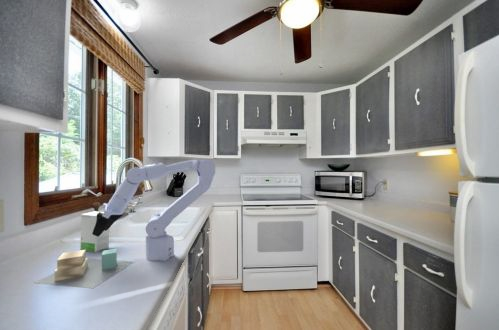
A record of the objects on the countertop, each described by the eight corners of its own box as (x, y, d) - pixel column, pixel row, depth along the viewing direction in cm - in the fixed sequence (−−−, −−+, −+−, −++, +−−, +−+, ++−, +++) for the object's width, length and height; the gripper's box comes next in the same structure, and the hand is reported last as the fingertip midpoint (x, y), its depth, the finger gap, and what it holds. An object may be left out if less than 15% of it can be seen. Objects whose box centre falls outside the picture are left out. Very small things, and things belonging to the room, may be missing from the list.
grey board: (134, 264, 78) (134, 261, 78) (93, 291, 61) (93, 288, 61) (85, 261, 81) (85, 258, 81) (33, 286, 65) (33, 282, 65)
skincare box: (79, 252, 89) (79, 214, 89) (94, 246, 96) (94, 211, 96) (96, 254, 87) (96, 215, 87) (110, 248, 94) (110, 211, 94)
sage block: (116, 262, 77) (116, 248, 77) (116, 267, 74) (115, 252, 74) (103, 265, 76) (103, 250, 76) (101, 270, 72) (101, 254, 72)
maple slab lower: (87, 266, 75) (87, 257, 75) (83, 275, 69) (83, 265, 69) (61, 271, 72) (61, 262, 72) (54, 281, 65) (54, 271, 65)
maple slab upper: (85, 258, 74) (85, 249, 74) (82, 265, 69) (81, 256, 69) (62, 262, 71) (62, 253, 71) (57, 270, 66) (57, 260, 66)
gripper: (117, 190, 85) (96, 222, 83) (104, 194, 71) (78, 232, 69) (134, 199, 87) (114, 230, 84) (125, 204, 73) (100, 242, 71)
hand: (99, 232), depth 77 cm, fingers open, 7 cm apart
